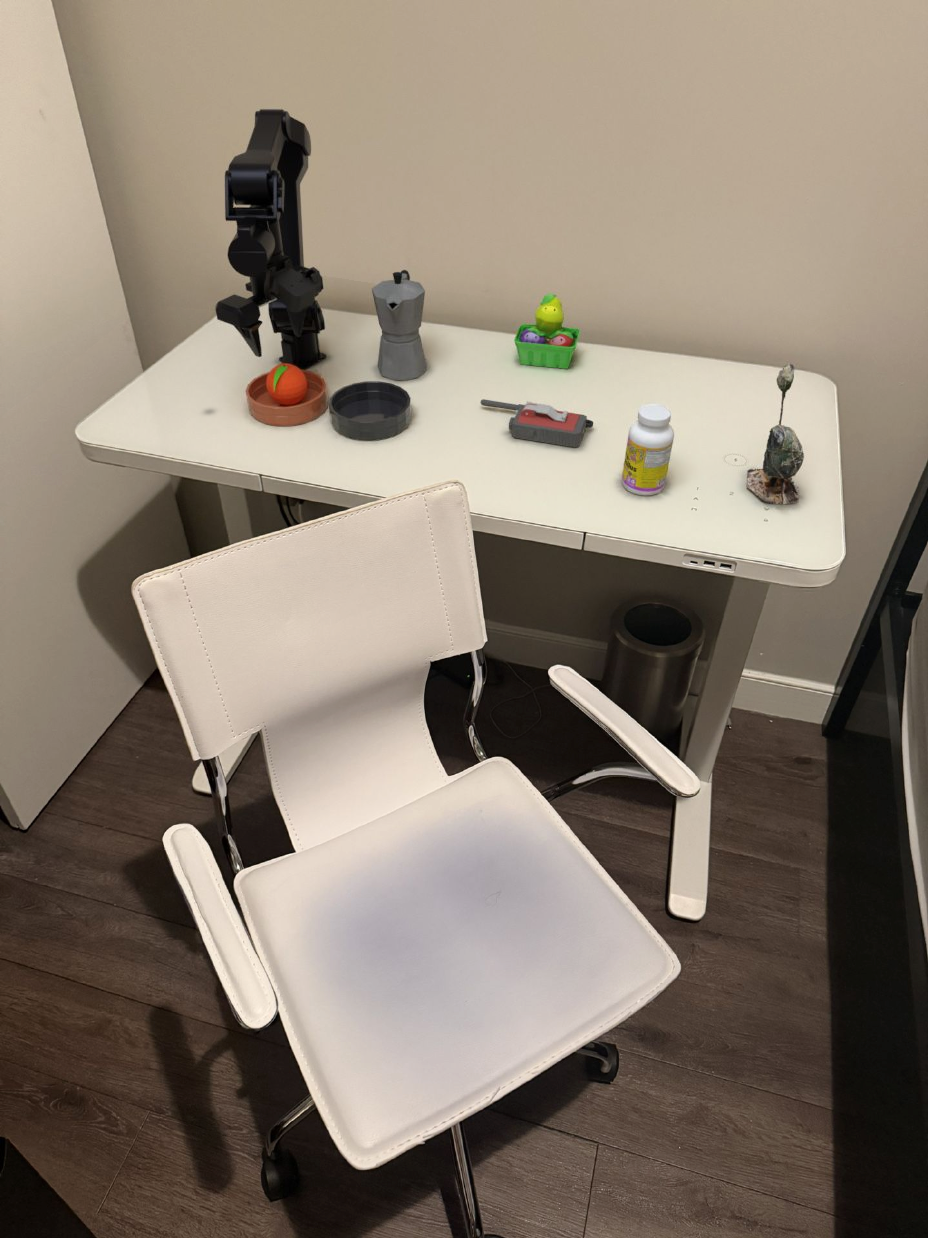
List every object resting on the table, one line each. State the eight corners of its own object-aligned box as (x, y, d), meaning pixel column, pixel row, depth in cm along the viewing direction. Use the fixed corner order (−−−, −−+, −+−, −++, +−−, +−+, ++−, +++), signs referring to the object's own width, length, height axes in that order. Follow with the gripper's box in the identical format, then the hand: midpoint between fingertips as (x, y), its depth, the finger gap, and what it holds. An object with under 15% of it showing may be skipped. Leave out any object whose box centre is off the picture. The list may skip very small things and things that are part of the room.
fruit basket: (512, 366, 165) (514, 308, 157) (520, 345, 172) (523, 287, 164) (573, 373, 163) (578, 314, 156) (579, 351, 170) (584, 293, 162)
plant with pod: (742, 509, 133) (773, 388, 119) (745, 468, 141) (776, 350, 127) (798, 518, 131) (837, 396, 118) (799, 476, 139) (835, 357, 125)
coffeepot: (422, 388, 160) (419, 289, 147) (370, 385, 160) (362, 287, 148) (433, 348, 171) (431, 253, 158) (385, 345, 171) (379, 251, 159)
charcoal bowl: (366, 391, 159) (365, 373, 156) (427, 415, 153) (426, 396, 150) (314, 424, 151) (312, 405, 148) (376, 450, 145) (374, 431, 142)
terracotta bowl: (288, 379, 162) (285, 361, 159) (344, 402, 156) (342, 383, 154) (232, 410, 154) (229, 392, 151) (289, 435, 148) (286, 416, 146)
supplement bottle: (617, 473, 140) (627, 400, 131) (658, 471, 140) (671, 398, 131) (626, 498, 135) (637, 424, 126) (669, 496, 135) (683, 422, 127)
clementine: (296, 418, 151) (291, 380, 146) (259, 412, 153) (252, 374, 148) (316, 395, 157) (311, 358, 152) (280, 390, 158) (274, 352, 153)
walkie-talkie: (595, 423, 151) (482, 405, 155) (598, 400, 148) (482, 382, 152) (584, 451, 145) (467, 431, 149) (587, 427, 142) (467, 407, 146)
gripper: (257, 282, 128) (273, 382, 139) (343, 243, 139) (352, 337, 150) (204, 265, 133) (223, 362, 143) (291, 228, 144) (304, 320, 154)
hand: (278, 345), depth 148 cm, fingers open, 9 cm apart
